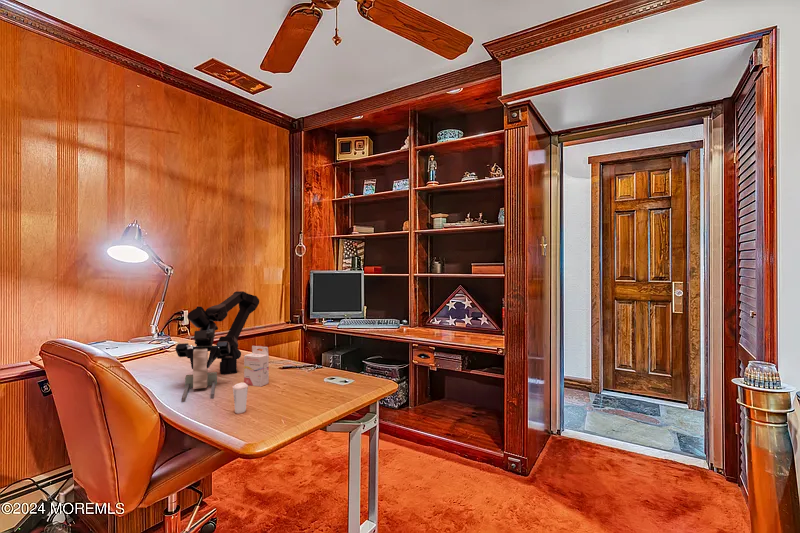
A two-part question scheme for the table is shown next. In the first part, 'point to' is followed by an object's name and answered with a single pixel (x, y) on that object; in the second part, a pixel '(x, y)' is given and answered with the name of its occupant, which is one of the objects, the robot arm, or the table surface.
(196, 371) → the post
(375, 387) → the table surface
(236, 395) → the milkshake
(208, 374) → the guide track
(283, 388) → the table surface
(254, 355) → the ink cartridge box
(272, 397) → the table surface
